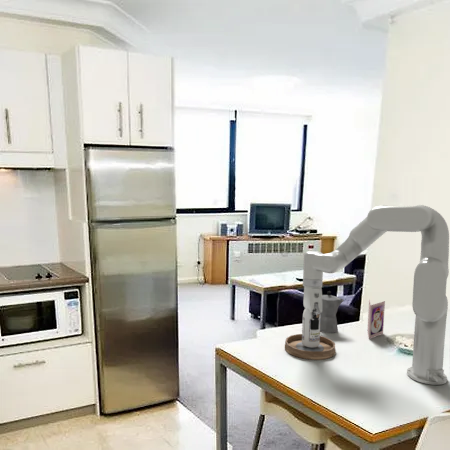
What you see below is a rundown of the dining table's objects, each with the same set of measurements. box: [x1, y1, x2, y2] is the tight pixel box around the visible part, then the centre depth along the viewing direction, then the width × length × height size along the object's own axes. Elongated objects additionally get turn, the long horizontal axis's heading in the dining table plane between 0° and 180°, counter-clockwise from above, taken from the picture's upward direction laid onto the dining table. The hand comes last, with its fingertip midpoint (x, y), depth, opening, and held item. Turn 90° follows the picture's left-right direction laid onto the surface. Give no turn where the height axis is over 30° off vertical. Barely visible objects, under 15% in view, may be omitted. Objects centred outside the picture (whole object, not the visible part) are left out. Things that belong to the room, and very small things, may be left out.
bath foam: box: [301, 307, 321, 348], centre depth 167 cm, size 7×7×20 cm
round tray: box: [284, 333, 337, 361], centre depth 169 cm, size 20×20×3 cm
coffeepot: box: [320, 290, 345, 334], centre depth 192 cm, size 15×9×18 cm, turn 67°
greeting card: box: [366, 299, 386, 340], centre depth 187 cm, size 11×7×15 cm, turn 129°
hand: (311, 325), depth 168 cm, fingers closed on bath foam, 7 cm apart
